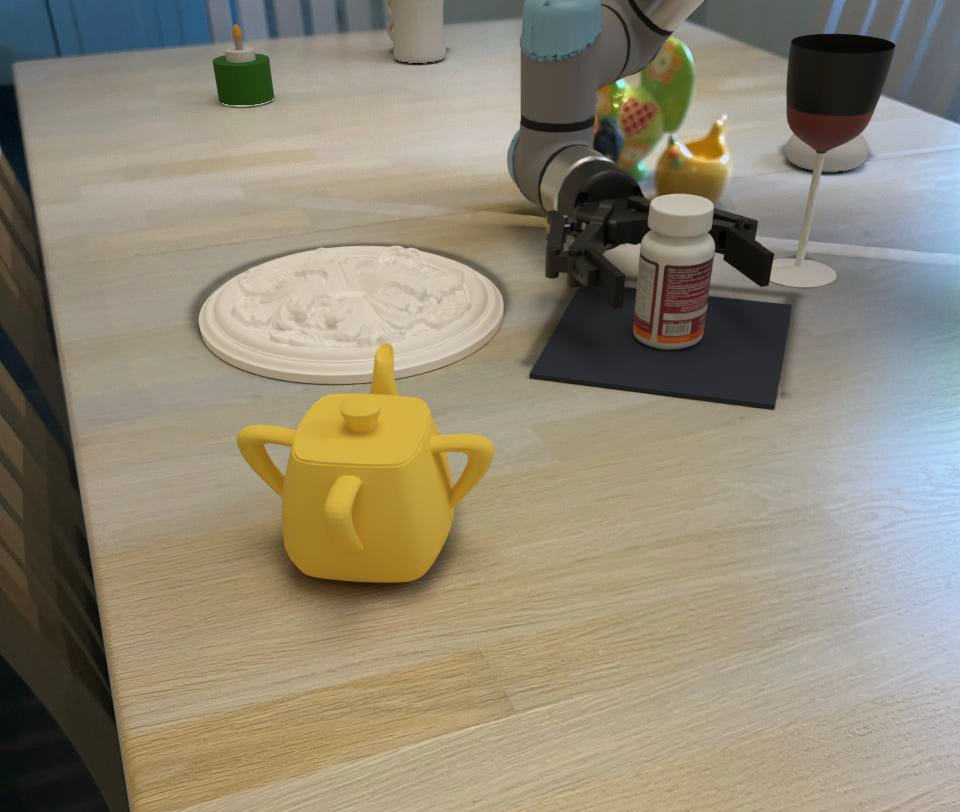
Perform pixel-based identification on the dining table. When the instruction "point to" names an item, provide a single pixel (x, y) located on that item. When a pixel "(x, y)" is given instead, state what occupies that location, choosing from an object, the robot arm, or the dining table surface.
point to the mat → (670, 351)
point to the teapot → (366, 482)
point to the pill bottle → (674, 272)
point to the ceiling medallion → (350, 314)
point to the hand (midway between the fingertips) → (695, 281)
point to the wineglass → (828, 118)
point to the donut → (828, 154)
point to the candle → (243, 74)
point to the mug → (417, 30)
